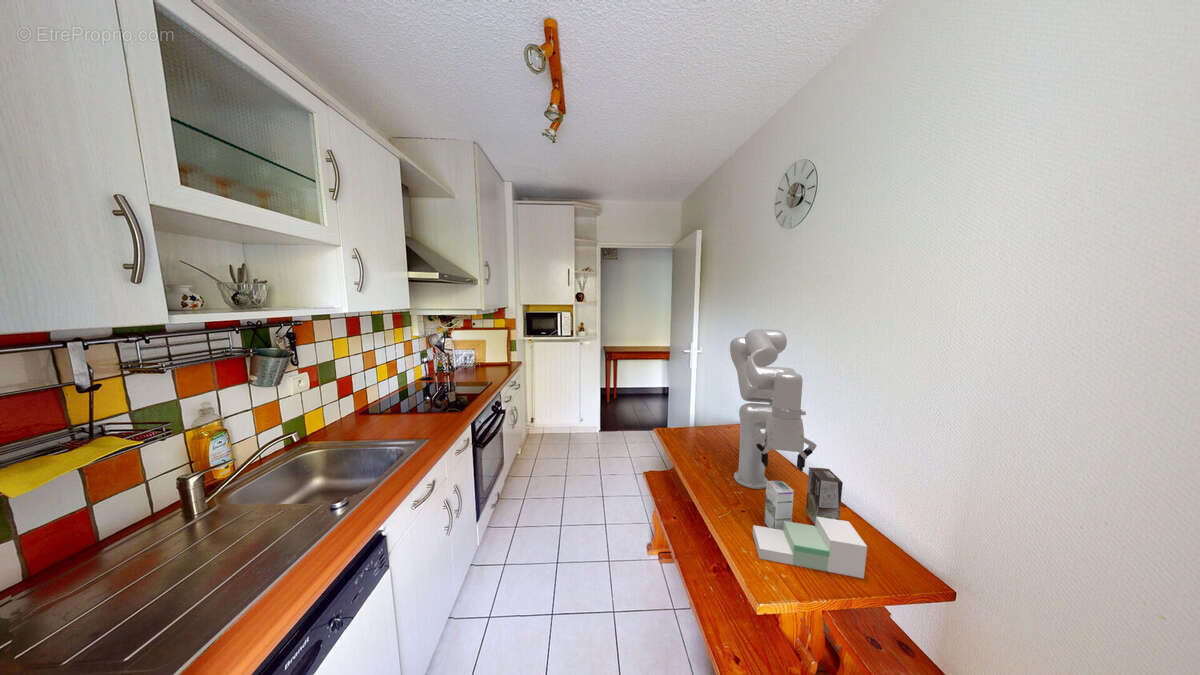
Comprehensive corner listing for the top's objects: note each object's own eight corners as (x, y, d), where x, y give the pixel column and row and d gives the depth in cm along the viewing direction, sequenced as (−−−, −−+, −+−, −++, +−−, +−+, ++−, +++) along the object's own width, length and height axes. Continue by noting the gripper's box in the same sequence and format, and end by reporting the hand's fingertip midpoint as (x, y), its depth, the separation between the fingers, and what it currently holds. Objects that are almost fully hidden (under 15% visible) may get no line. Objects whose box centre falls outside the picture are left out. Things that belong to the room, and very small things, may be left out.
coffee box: (839, 531, 103) (843, 482, 101) (816, 528, 104) (820, 480, 103) (825, 513, 112) (829, 468, 110) (804, 510, 113) (808, 466, 111)
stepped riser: (752, 534, 102) (754, 506, 101) (846, 550, 95) (848, 521, 94) (759, 559, 92) (761, 529, 91) (864, 579, 85) (867, 547, 84)
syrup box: (791, 534, 102) (795, 490, 100) (773, 535, 101) (776, 490, 100) (780, 521, 107) (783, 479, 106) (762, 522, 107) (765, 480, 105)
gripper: (813, 411, 101) (809, 465, 103) (752, 406, 106) (749, 458, 107) (823, 419, 94) (818, 477, 96) (757, 414, 99) (754, 468, 100)
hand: (782, 466), depth 102 cm, fingers open, 9 cm apart
